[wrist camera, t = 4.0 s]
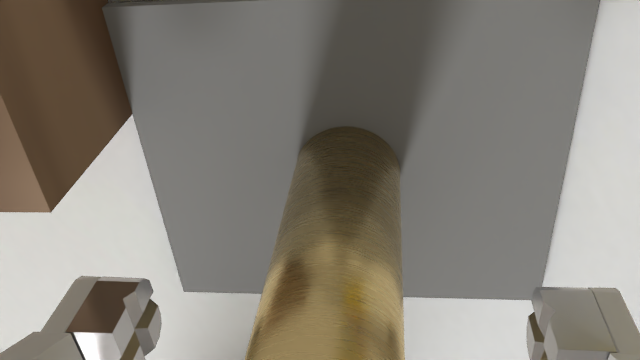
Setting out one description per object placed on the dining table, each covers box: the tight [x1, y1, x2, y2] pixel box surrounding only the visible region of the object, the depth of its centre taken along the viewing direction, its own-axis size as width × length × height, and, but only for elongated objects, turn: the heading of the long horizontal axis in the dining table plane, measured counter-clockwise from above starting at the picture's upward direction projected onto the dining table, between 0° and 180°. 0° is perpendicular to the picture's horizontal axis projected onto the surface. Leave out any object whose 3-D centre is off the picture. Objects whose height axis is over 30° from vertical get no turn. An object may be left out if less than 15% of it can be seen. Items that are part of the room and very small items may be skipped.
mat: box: [102, 0, 600, 300], centre depth 16 cm, size 12×10×1 cm
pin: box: [245, 126, 405, 360], centre depth 12 cm, size 3×3×10 cm
